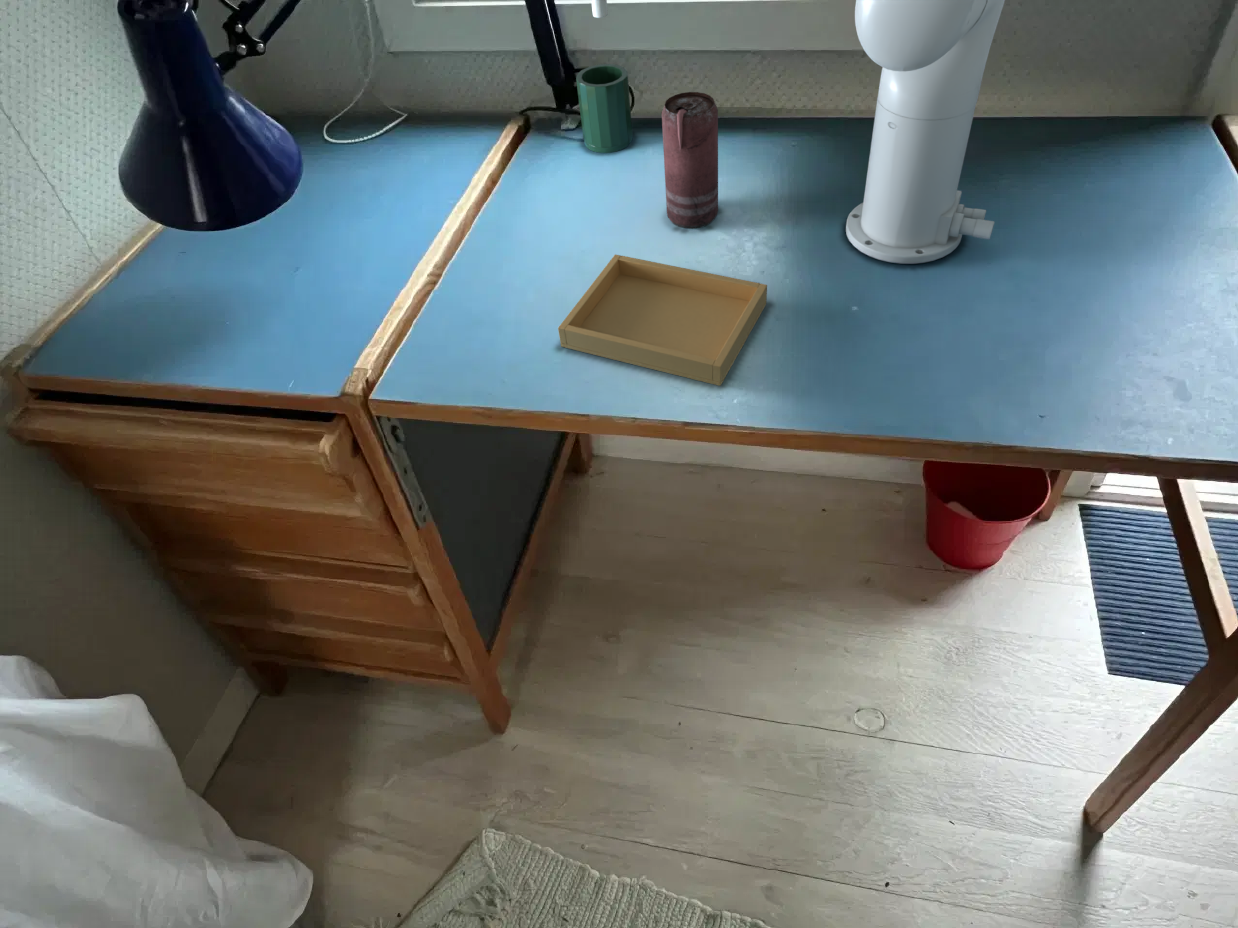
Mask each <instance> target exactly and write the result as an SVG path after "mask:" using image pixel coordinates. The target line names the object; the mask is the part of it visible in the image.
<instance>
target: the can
mask: <svg viewBox="0 0 1238 928" xmlns="http://www.w3.org/2000/svg"><path fill="white" fill-rule="evenodd" d="M661 126H662V129H661V130H662V146H663V147H662V148H663V166H664V167H663V169H664V182H665V184H664V185H665V205H666V216H667V219H669V220H670V222H671V223H672V224H673V225H674V226H676V227H678V228H683V229H690V230H691V229H693V230H694V229H700V228H703V227H707V226H708V225H710V224H711V223H712V222H713V221H714V220H715V219H716V217H717V216H718V213H719V108H718V106H717V104H716V102H715V99H714V98H713V97H712V96H711V95H710V94H707V93H704V92H700V91H687V92H680V93H676V94H674V95H672V96H670V97H668V98H667V99H666V100H665V102H664V106H663V108H662V111H661Z"/></svg>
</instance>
